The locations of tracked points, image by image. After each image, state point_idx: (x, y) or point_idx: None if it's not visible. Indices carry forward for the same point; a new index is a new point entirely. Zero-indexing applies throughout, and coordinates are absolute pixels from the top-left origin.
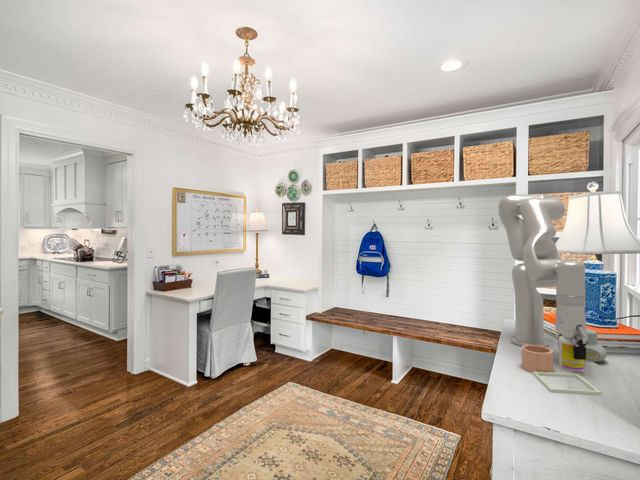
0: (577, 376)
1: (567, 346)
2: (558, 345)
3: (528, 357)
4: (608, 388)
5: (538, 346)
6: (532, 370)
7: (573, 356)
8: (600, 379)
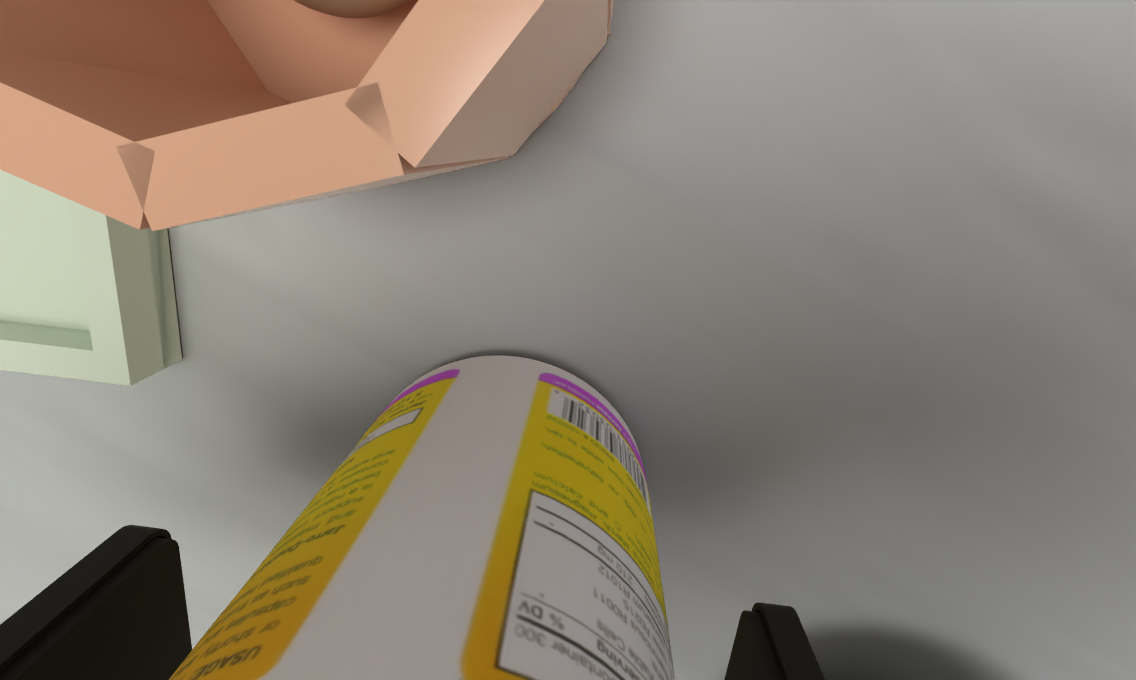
0: (62, 342)
1: (181, 675)
2: (804, 649)
3: None
4: (9, 514)
5: None
6: None
7: (133, 549)
8: (240, 582)
